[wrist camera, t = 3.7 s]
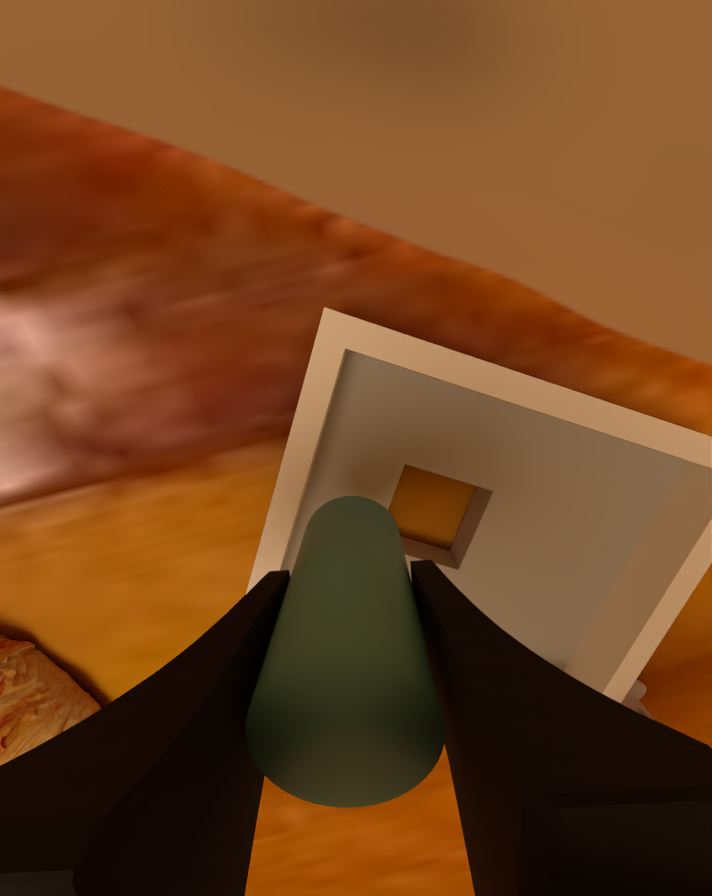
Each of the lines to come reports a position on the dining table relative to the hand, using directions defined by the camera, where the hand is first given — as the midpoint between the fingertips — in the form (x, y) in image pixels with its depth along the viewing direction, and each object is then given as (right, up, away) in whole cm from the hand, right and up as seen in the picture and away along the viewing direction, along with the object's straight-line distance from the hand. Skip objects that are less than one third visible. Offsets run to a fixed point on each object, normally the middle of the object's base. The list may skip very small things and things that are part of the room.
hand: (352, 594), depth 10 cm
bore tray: (+6, +1, +10) cm, 12 cm away
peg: (0, +1, +3) cm, 3 cm away
